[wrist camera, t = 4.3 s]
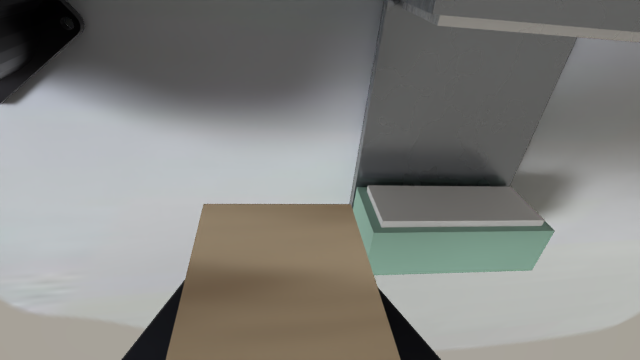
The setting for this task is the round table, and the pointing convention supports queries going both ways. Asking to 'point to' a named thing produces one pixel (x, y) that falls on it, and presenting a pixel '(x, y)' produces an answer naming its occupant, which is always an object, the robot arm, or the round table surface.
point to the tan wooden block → (280, 287)
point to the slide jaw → (448, 229)
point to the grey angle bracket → (470, 84)
